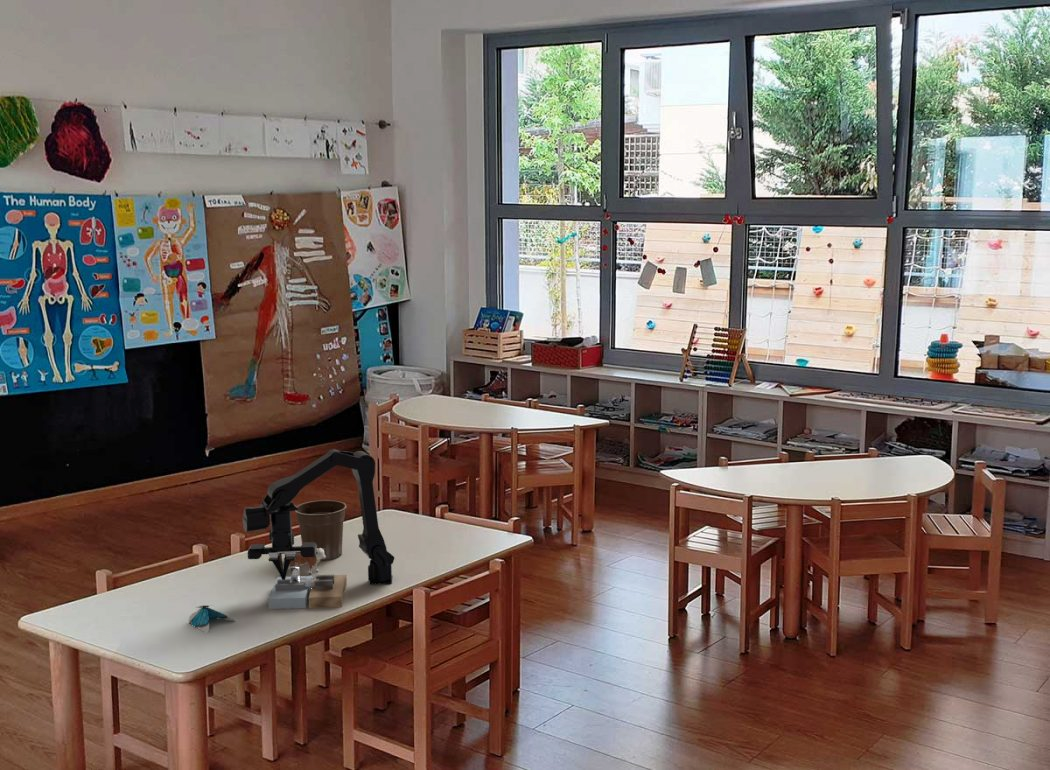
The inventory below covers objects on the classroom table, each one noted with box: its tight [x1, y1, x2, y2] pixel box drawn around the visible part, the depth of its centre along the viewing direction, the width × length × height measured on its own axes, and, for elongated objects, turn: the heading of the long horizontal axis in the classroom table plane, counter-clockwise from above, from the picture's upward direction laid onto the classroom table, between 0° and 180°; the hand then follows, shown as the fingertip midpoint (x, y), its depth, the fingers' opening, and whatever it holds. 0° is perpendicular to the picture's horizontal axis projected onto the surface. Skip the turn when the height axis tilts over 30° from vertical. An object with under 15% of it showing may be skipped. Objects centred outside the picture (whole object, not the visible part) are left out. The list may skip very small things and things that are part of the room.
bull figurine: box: [284, 548, 326, 574], centre depth 330 cm, size 4×13×8 cm, turn 79°
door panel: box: [267, 575, 313, 610], centre depth 309 cm, size 10×18×5 cm, turn 5°
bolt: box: [290, 565, 319, 587], centre depth 309 cm, size 8×2×6 cm, turn 95°
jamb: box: [308, 574, 348, 609], centre depth 310 cm, size 9×18×5 cm, turn 5°
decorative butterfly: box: [188, 604, 236, 634], centre depth 291 cm, size 10×6×10 cm
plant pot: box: [294, 499, 347, 562], centre depth 345 cm, size 16×16×16 cm
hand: (283, 579), depth 309 cm, fingers closed
